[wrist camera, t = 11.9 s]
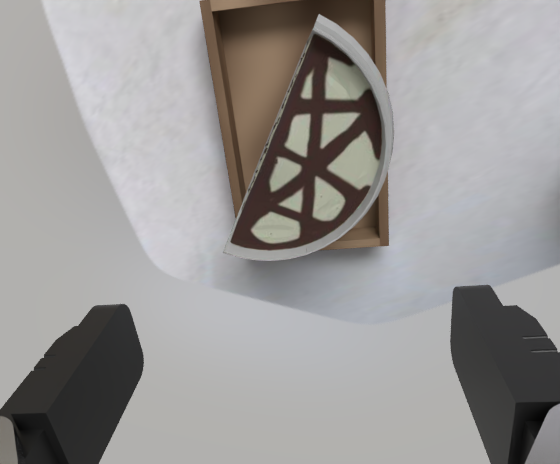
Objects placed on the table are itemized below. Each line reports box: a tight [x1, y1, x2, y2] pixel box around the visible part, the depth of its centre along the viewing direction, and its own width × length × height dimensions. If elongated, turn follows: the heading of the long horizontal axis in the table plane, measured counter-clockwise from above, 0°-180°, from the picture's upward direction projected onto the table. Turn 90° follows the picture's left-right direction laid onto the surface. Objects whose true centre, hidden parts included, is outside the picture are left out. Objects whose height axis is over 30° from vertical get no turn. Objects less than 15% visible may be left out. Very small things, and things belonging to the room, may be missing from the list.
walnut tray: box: [200, 0, 389, 250], centre depth 30 cm, size 10×16×2 cm, turn 7°
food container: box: [223, 14, 394, 261], centre depth 26 cm, size 12×6×10 cm, turn 158°
